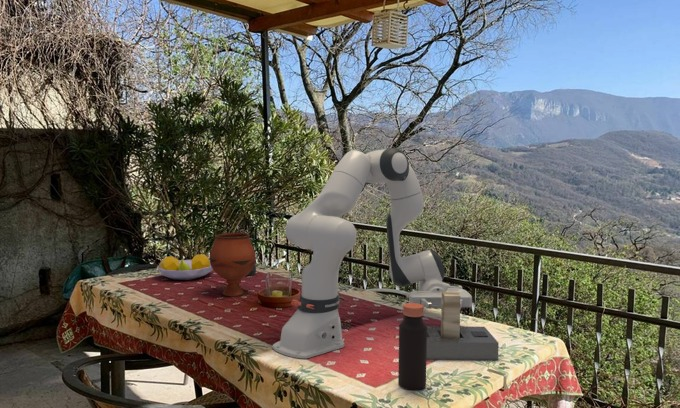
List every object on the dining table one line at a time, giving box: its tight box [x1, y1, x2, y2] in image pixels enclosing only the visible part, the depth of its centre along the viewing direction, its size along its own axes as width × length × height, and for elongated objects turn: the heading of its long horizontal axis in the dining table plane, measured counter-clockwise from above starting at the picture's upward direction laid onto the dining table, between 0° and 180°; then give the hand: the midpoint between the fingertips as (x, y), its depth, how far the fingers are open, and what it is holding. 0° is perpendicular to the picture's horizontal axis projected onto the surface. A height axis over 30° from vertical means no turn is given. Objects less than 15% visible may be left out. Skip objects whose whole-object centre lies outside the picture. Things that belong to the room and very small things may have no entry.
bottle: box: [397, 302, 428, 391], centre depth 123 cm, size 7×7×20 cm
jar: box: [245, 261, 257, 278], centre depth 246 cm, size 10×10×8 cm
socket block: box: [426, 325, 499, 361], centre depth 147 cm, size 14×24×5 cm, turn 90°
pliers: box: [338, 291, 348, 303], centre depth 209 cm, size 10×1×20 cm
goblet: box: [209, 232, 257, 297], centre depth 210 cm, size 19×19×25 cm
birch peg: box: [440, 292, 461, 338], centre depth 146 cm, size 4×4×16 cm
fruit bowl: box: [156, 253, 214, 281], centre depth 239 cm, size 28×27×11 cm
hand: (444, 306), depth 156 cm, fingers open, 8 cm apart
